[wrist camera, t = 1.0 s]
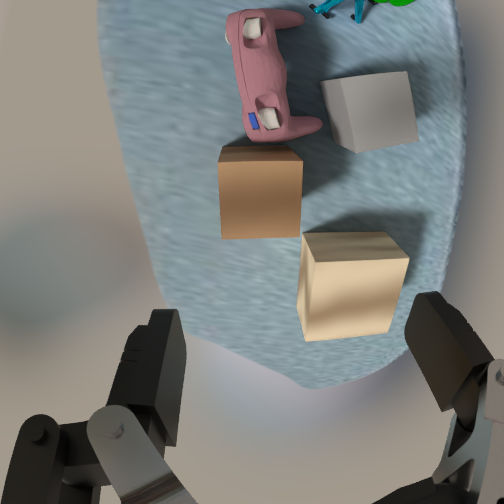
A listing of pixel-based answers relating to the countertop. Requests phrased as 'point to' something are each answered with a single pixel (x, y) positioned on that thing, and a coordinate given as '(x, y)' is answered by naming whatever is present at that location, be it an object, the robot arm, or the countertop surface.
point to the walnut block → (260, 192)
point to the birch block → (348, 283)
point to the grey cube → (370, 110)
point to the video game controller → (265, 75)
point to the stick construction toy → (323, 8)
